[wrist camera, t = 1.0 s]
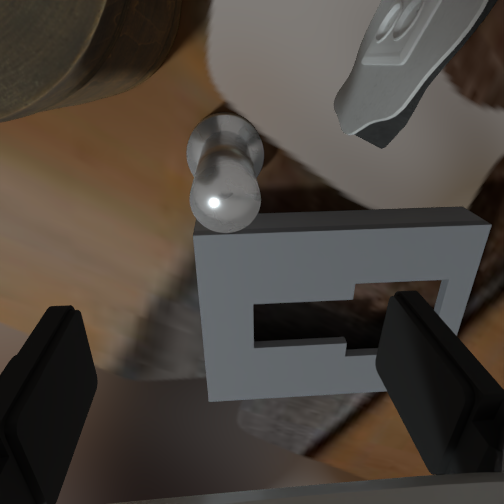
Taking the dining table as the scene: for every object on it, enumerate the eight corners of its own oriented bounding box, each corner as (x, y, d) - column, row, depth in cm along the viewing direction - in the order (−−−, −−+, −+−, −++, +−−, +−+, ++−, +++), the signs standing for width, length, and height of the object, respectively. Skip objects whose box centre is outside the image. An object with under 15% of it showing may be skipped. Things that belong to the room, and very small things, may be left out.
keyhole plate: (196, 215, 35) (193, 235, 31) (462, 206, 36) (491, 224, 32) (210, 370, 44) (208, 401, 40) (421, 359, 45) (440, 387, 41)
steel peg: (261, 111, 31) (283, 140, 19) (261, 185, 34) (280, 248, 22) (185, 112, 31) (160, 143, 19) (192, 187, 33) (174, 253, 22)
